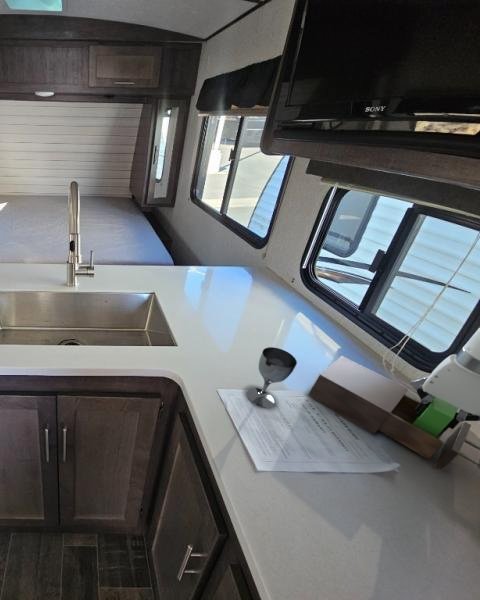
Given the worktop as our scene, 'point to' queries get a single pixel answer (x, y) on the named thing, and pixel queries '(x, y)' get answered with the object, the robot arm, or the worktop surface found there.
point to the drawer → (424, 434)
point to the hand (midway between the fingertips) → (431, 420)
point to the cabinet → (357, 393)
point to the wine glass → (271, 374)
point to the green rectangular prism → (435, 417)
